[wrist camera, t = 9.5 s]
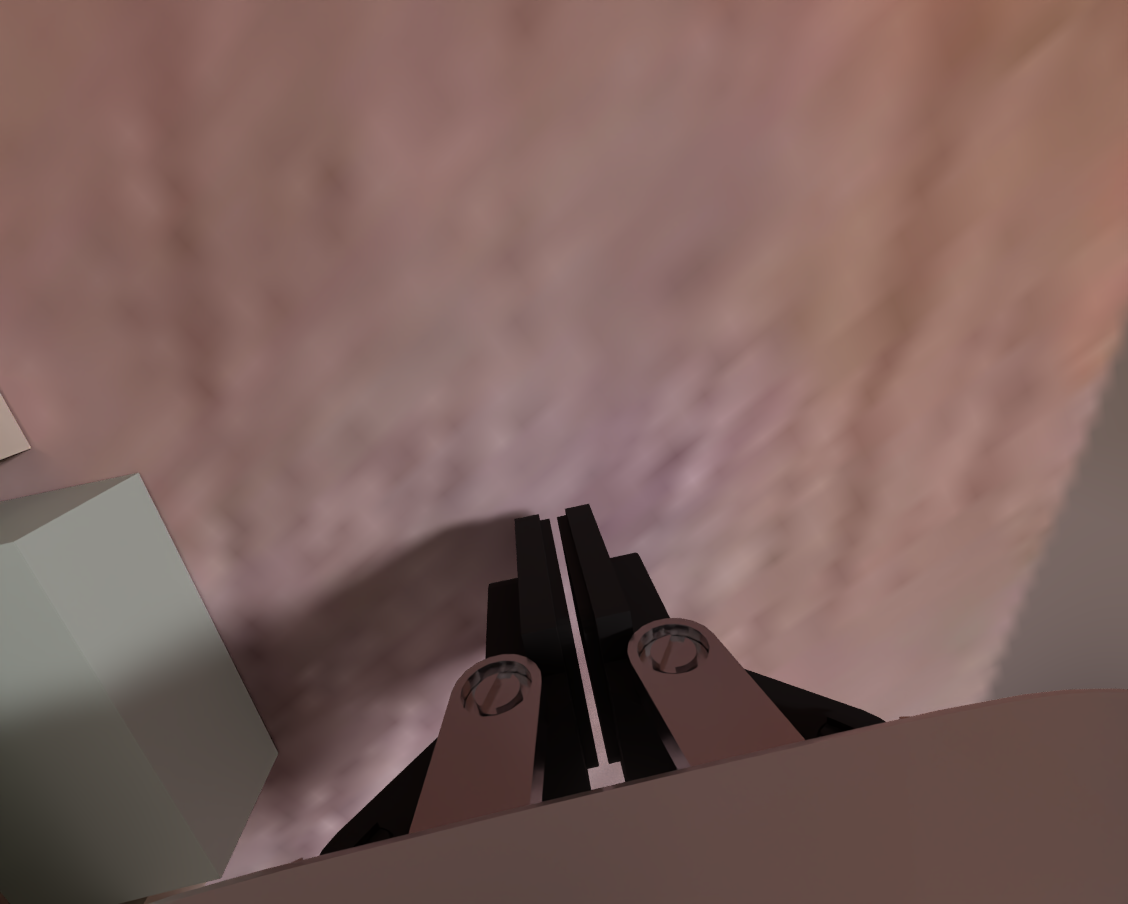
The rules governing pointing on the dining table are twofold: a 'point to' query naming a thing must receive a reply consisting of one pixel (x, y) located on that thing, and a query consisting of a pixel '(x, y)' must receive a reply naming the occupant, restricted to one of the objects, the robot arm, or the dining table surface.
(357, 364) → the dining table surface
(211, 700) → the pale green tile
